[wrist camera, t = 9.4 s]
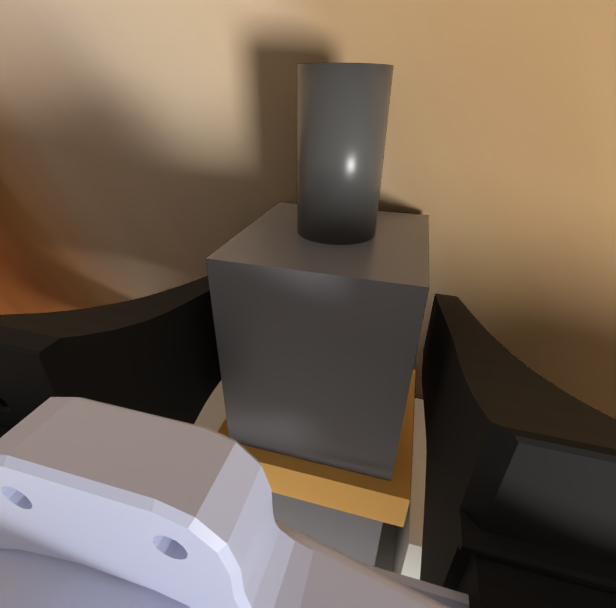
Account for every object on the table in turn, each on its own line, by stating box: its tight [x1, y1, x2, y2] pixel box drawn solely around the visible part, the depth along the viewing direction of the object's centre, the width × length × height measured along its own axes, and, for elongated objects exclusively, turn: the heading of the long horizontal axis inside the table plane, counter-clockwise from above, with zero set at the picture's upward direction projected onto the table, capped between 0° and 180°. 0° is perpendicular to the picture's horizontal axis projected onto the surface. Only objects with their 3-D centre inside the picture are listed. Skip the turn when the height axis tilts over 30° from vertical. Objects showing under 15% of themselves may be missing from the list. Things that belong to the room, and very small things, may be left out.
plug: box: [206, 63, 429, 566], centre depth 11 cm, size 6×15×5 cm, turn 179°
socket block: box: [194, 380, 426, 580], centre depth 15 cm, size 16×11×6 cm
